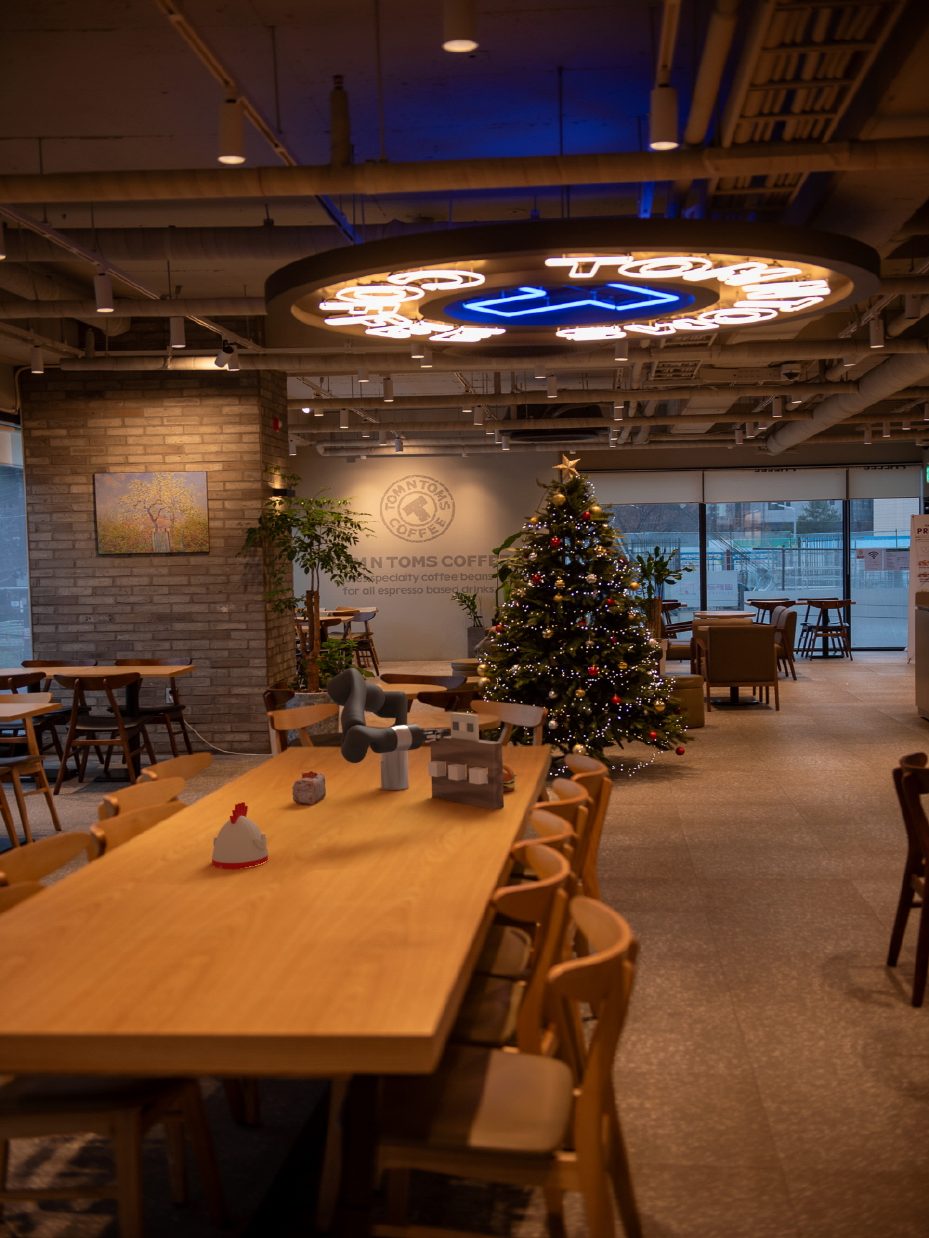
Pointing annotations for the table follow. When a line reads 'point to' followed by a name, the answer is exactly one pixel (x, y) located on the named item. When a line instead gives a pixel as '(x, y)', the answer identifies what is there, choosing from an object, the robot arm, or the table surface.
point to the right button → (478, 775)
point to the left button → (436, 768)
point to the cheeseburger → (508, 778)
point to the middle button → (457, 772)
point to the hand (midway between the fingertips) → (448, 732)
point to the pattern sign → (464, 726)
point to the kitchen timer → (239, 842)
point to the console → (472, 756)
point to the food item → (309, 788)
